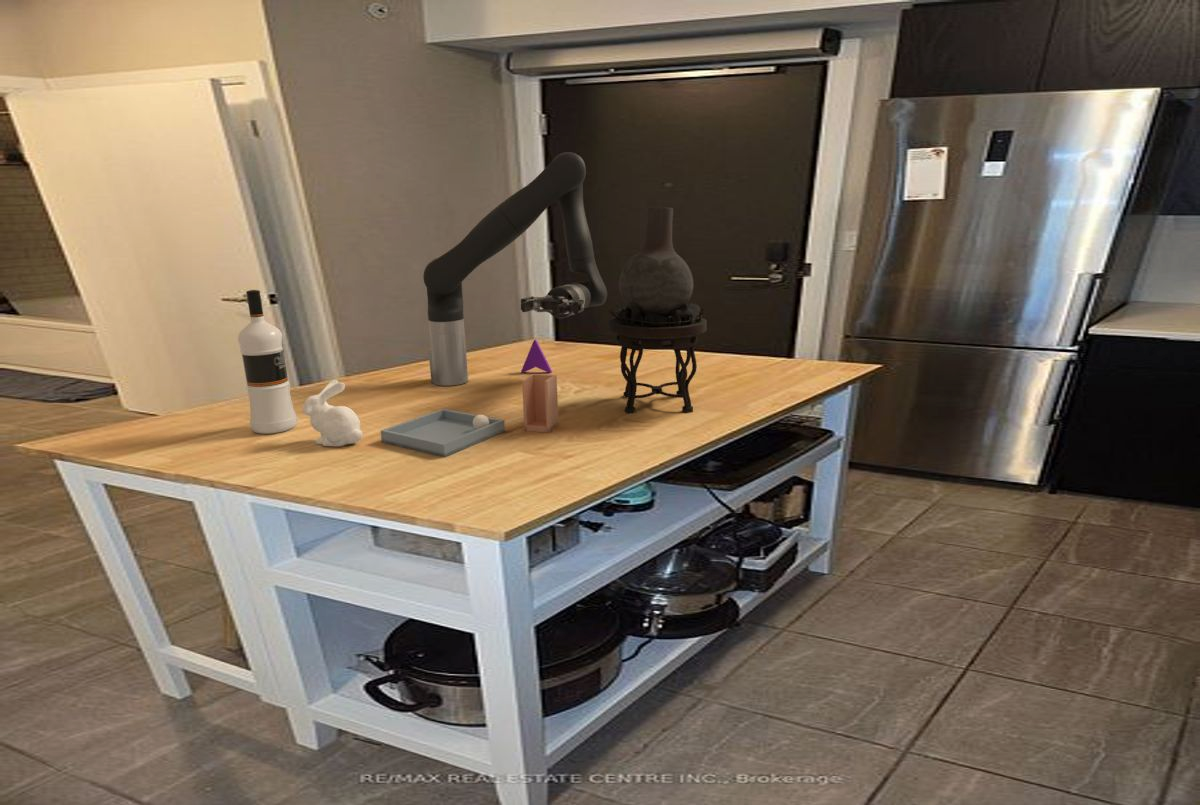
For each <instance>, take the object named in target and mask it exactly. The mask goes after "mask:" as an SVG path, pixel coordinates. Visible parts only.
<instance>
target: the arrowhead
mask: <svg viewBox="0 0 1200 805" xmlns="http://www.w3.org/2000/svg"><path fill="white" fill-rule="evenodd" d="M535 368H537V369H539V370H541V371H544V372H546V373H548V374H552V373H553V370H552V368H551V366H550V364H549V362H548V361H547V358H546V356H545V354H544V352H543V350H542V348H541V346H540V344H539V343H538V341H537V339H534V340H533V341H532V343H531V346H530V348H529V351H528V354H527V356H526V358H525V361H524V363H523V366H522V369H521V371H520V374H523V373H526V372H528V371H530V370H532V369H535Z"/></svg>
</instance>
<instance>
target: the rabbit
mask: <svg viewBox="0 0 1200 805" xmlns="http://www.w3.org/2000/svg"><path fill="white" fill-rule="evenodd" d="M345 388H346V384H345V383H344V382H341V381H338V380H337V379H332V380H330V381H329V382H328V384H326V386H325V387H323V389H322V390H321V391H320V392H319V393H318V394H314V395H310V396H308V397H307V398H306V399H305V401H304V402H303V404H302V413H303V414H304V415H305V416H308V417H309V416H310V417H309V419H310V420H309V423H310V425H311V427H312V428H313V429H314V430H315V431H316V432H319V433H320V436H321V437H318V438H316V440H315V444H316V445H322V446H324V447H343V446H347V445H353V444H356V443H358V442H359V441H361V439H363V436H364V434H363V431H362V430H361V421H360V419H359V417H358V414H356V413H355V412H354V411H353V410H352V409H351V408H349V407H347V406H344V405H340V406H335V405H331V404H329V403H328V402H327V400H328V399H330V398H331V397H332V398H333V396H336V395H338V394H340V393H341V392H343V391H344V390H345Z"/></svg>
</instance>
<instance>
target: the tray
mask: <svg viewBox="0 0 1200 805" xmlns="http://www.w3.org/2000/svg"><path fill="white" fill-rule="evenodd" d="M477 415H478V414H473V413H468V412H462V411H457V410H451V409H447V408H441V409H438V410H435V411H433V412H430V413H428V414H425V415H421V416H418V417H416V418H413V419H410V420H406V421H404V422H401V423H398V424H396V425H394V426H393V425H392V426H390V427H388V428H384V429H382V430H380V435H381V436H380V437H381V443H384V444H389V445H392V446H397V447H401V448H405V449H409V450H414V451H417V452H421V453H426V454H430V455H435V456H439V457H444V458H447V457H449V456H451V455H454V454H456V453H458V452H460V451H463V450H465V449H467V448H470V447H472V446H474V445H477V444H479V443H481V442H484V441H486V440H489V439H491V438H493V437H495V436H497V435H500V434H502V433H505V432H506V426H505V425H506V424H505V423H506V422H505V419H500V418H494V417H490V416H486V417H487V418H488V420H489V425H487V426H484V427H482V428H479V429H477V430H476V429H475V428H474V426H473V419H474V418H475V417H476V416H477Z"/></svg>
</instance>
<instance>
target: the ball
mask: <svg viewBox="0 0 1200 805" xmlns="http://www.w3.org/2000/svg"><path fill="white" fill-rule="evenodd" d="M476 415H477V416H476V417H475V418H474V419H473V426H474V428H475V429H476V430H477V429H479V428H482V427H484V426H487V425H489V420H488V418H487V417H488V416H486V415H484V414H476Z"/></svg>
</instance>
